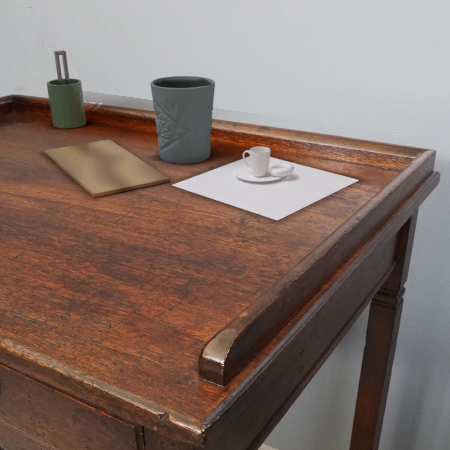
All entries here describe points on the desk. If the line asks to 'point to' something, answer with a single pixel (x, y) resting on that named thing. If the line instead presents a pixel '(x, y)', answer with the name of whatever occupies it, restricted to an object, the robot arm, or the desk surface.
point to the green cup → (66, 103)
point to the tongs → (63, 66)
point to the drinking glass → (183, 117)
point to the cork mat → (105, 167)
